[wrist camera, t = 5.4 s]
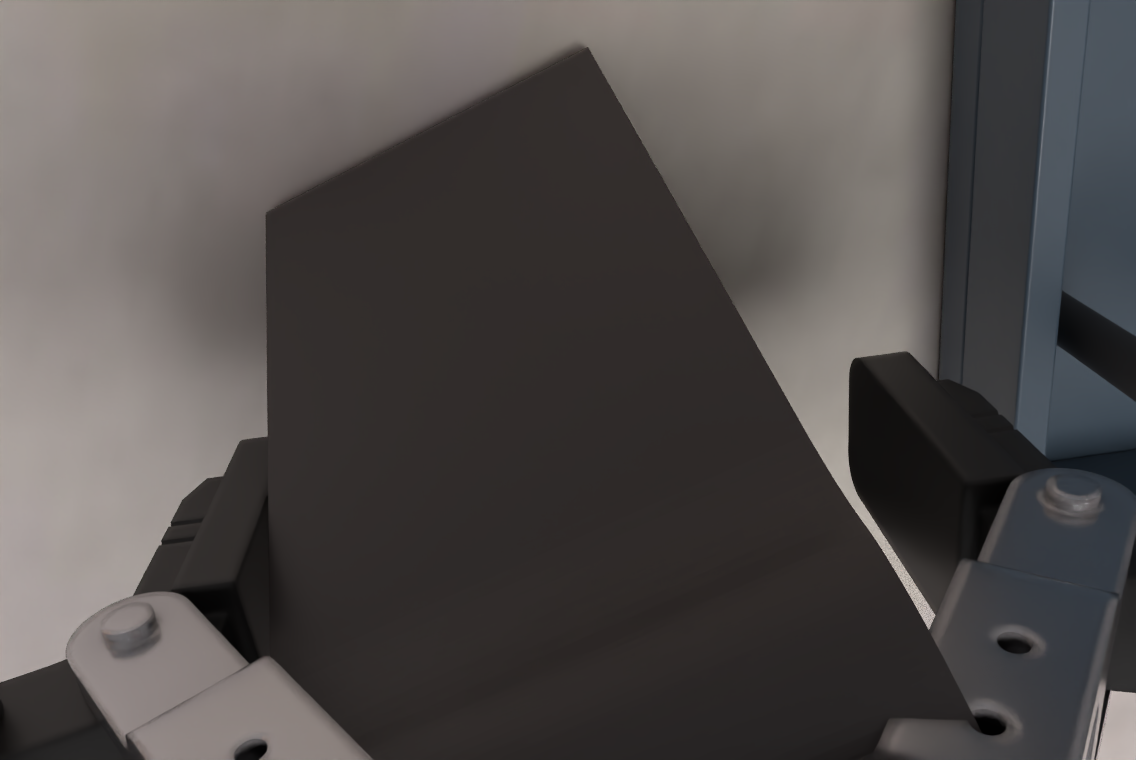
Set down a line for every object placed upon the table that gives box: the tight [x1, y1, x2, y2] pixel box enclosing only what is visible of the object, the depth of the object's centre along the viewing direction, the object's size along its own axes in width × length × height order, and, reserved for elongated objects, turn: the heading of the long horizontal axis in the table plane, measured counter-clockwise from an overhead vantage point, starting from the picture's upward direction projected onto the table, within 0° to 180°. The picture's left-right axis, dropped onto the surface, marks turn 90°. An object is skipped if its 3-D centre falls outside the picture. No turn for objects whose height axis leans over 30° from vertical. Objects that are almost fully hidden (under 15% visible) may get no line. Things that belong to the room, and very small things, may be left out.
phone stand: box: [266, 47, 982, 760], centre depth 13 cm, size 9×6×12 cm, turn 25°
